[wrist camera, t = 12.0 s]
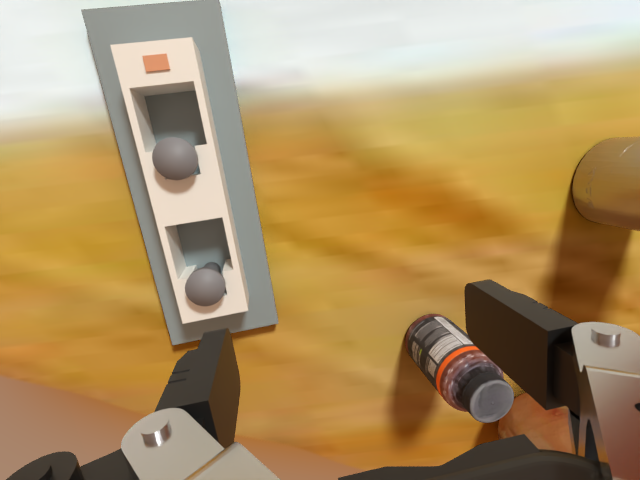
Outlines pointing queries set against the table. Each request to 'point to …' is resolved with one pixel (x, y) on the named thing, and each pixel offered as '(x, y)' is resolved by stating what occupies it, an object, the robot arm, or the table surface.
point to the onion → (537, 424)
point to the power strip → (190, 193)
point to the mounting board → (192, 131)
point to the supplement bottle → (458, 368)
